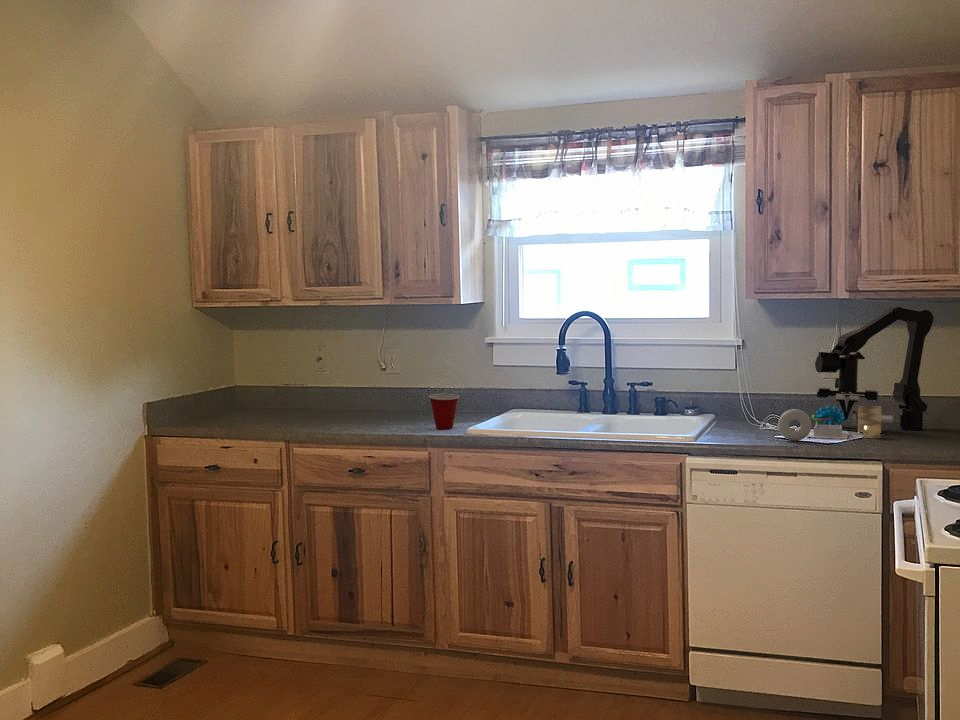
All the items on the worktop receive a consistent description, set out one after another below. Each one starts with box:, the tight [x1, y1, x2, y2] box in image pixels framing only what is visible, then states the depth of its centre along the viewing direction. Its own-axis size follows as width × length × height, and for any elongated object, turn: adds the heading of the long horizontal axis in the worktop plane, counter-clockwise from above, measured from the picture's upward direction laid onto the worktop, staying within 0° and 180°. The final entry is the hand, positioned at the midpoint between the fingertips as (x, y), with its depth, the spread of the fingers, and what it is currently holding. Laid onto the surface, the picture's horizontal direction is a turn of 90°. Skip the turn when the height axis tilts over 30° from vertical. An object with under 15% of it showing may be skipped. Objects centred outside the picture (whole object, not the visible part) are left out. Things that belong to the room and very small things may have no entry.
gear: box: [811, 405, 846, 425], centre depth 339 cm, size 11×6×10 cm
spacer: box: [862, 424, 881, 439], centre depth 313 cm, size 5×5×4 cm
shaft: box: [851, 409, 894, 426], centre depth 326 cm, size 12×5×5 cm, turn 67°
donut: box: [777, 408, 813, 442], centre depth 310 cm, size 10×3×10 cm, turn 77°
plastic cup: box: [428, 393, 460, 431], centre depth 352 cm, size 11×11×12 cm
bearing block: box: [857, 405, 882, 434], centre depth 326 cm, size 7×8×8 cm
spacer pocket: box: [806, 424, 850, 440], centre depth 318 cm, size 12×12×3 cm
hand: (846, 419), depth 329 cm, fingers closed
